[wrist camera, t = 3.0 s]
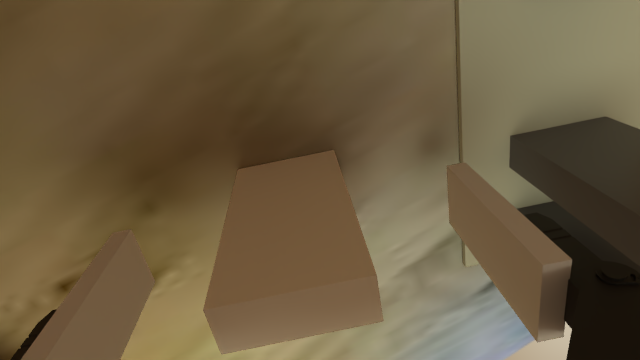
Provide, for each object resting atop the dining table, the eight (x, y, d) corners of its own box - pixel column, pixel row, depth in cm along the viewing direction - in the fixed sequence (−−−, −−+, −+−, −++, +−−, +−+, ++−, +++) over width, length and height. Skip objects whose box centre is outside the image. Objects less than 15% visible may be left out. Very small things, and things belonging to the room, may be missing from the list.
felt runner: (447, -249, 14) (452, -255, 14) (721, -304, 14) (733, -312, 14) (462, 263, 24) (465, 267, 24) (623, 230, 24) (628, 233, 24)
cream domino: (237, 169, 20) (203, 310, 11) (333, 149, 20) (376, 274, 11) (246, 199, 21) (221, 354, 12) (339, 181, 21) (383, 321, 12)
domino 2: (507, 210, 22) (662, 357, 13) (594, 192, 22) (808, 327, 13) (507, 236, 23) (652, 392, 14) (591, 219, 23) (790, 364, 14)
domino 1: (510, 135, 20) (693, 248, 11) (605, 116, 20) (864, 213, 11) (509, 167, 21) (679, 296, 12) (601, 148, 21) (839, 263, 12)
